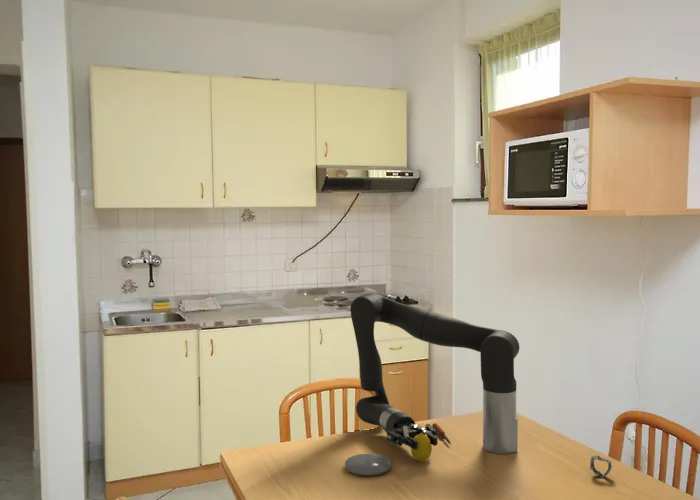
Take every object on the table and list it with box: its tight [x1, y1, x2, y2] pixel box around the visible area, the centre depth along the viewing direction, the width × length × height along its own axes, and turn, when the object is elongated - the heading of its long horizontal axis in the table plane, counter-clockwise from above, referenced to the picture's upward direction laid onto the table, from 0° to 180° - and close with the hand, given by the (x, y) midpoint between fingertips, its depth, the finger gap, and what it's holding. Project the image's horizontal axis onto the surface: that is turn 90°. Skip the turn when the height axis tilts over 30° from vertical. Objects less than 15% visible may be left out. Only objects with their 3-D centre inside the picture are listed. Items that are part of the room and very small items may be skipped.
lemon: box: [410, 433, 433, 464], centre depth 168 cm, size 6×6×8 cm
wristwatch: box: [589, 455, 613, 479], centre depth 157 cm, size 3×5×5 cm, turn 55°
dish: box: [344, 453, 392, 477], centre depth 165 cm, size 12×12×2 cm
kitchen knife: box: [431, 423, 451, 445], centre depth 186 cm, size 16×1×2 cm, turn 10°
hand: (426, 443), depth 165 cm, fingers closed on lemon, 5 cm apart
